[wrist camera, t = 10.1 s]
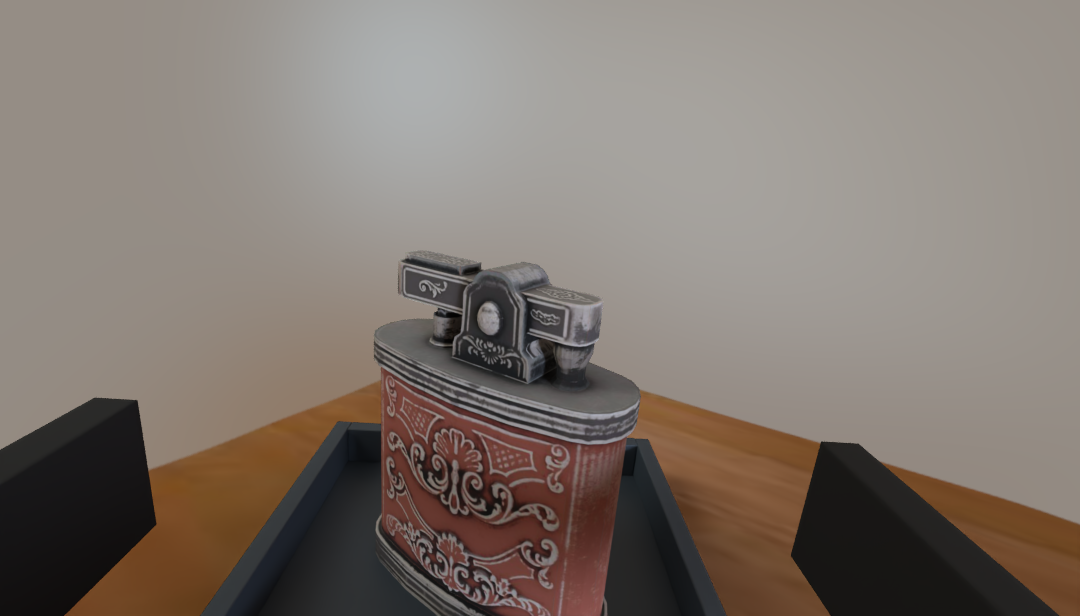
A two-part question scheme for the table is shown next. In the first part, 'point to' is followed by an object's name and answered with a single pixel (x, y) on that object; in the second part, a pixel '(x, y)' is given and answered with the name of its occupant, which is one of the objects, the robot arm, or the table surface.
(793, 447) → the table surface
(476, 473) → the lighter
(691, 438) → the table surface
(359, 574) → the tray
